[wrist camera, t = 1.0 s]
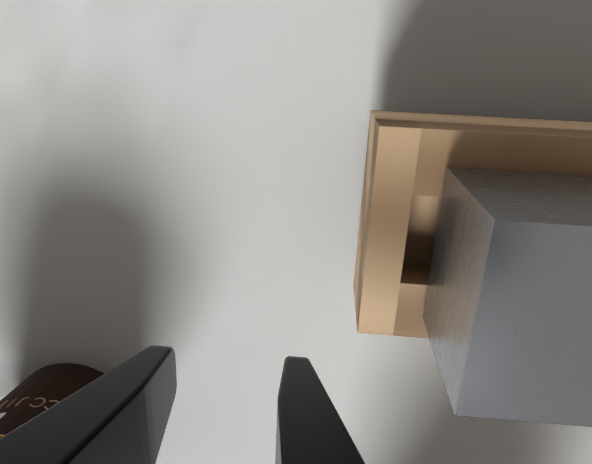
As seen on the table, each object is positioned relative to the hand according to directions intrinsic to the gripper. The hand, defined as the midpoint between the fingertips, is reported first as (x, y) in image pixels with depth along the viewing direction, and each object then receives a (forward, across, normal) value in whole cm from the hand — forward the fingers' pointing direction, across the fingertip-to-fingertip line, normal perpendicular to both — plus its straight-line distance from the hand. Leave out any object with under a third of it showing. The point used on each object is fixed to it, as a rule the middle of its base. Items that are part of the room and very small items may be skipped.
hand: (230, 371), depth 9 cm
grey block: (+8, -8, 0) cm, 11 cm away
